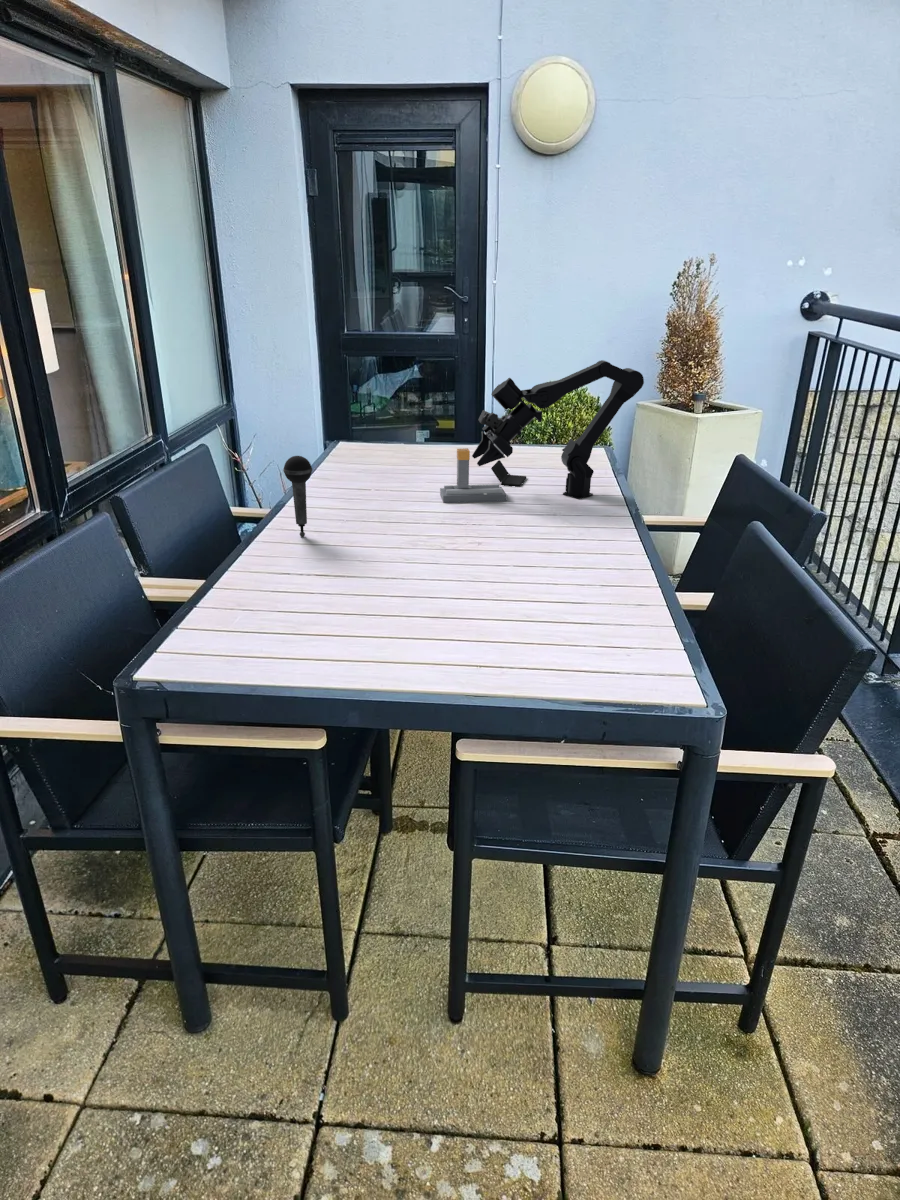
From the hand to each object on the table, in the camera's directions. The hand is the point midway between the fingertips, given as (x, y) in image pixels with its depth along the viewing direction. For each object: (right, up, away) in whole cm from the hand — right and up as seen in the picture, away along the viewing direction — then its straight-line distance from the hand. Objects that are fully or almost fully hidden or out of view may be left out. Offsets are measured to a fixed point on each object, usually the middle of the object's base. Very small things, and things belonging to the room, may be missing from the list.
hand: (475, 461), depth 222 cm
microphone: (-43, -24, -29) cm, 57 cm away
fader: (-4, -8, +3) cm, 9 cm away
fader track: (-1, -10, +4) cm, 11 cm away
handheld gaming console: (+11, -3, +22) cm, 25 cm away
